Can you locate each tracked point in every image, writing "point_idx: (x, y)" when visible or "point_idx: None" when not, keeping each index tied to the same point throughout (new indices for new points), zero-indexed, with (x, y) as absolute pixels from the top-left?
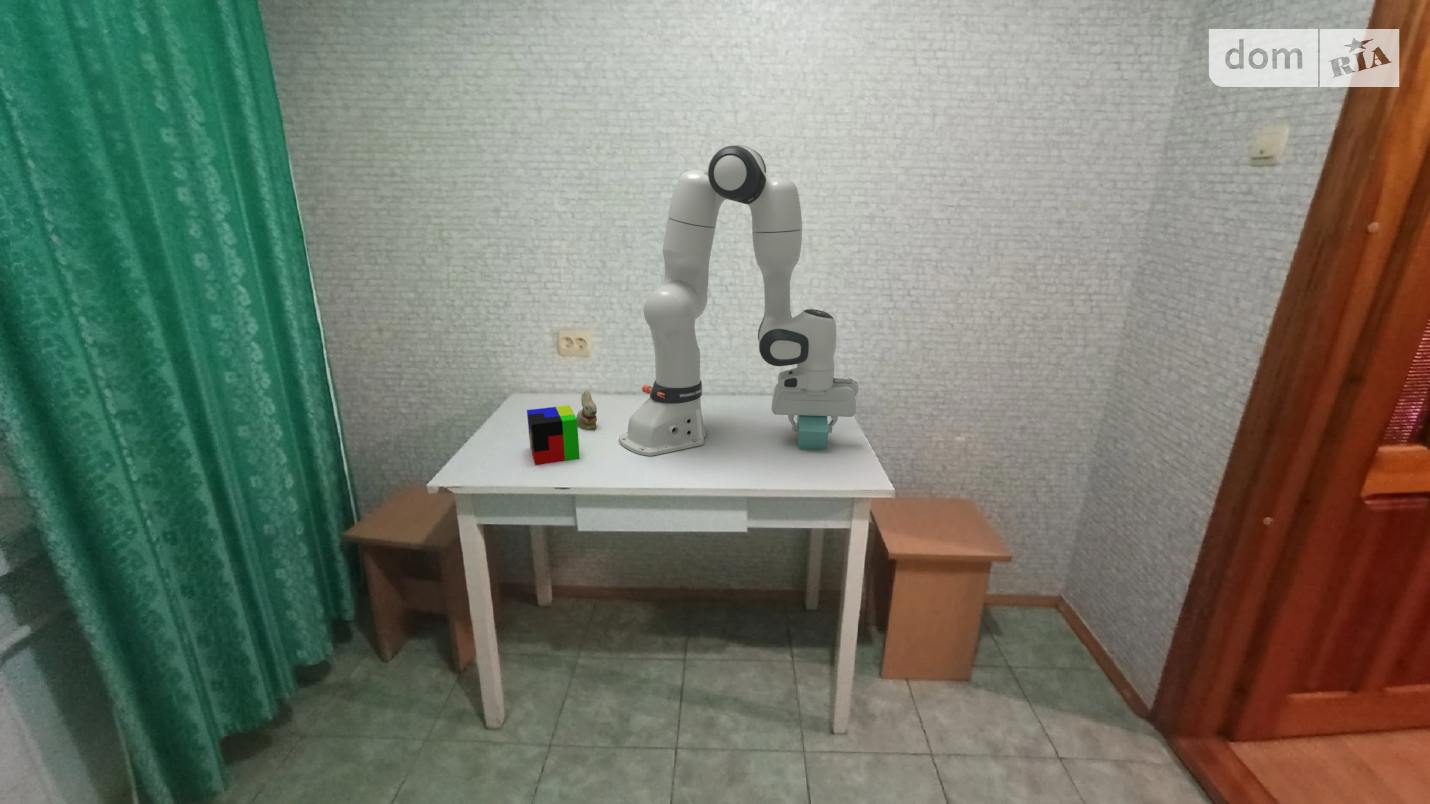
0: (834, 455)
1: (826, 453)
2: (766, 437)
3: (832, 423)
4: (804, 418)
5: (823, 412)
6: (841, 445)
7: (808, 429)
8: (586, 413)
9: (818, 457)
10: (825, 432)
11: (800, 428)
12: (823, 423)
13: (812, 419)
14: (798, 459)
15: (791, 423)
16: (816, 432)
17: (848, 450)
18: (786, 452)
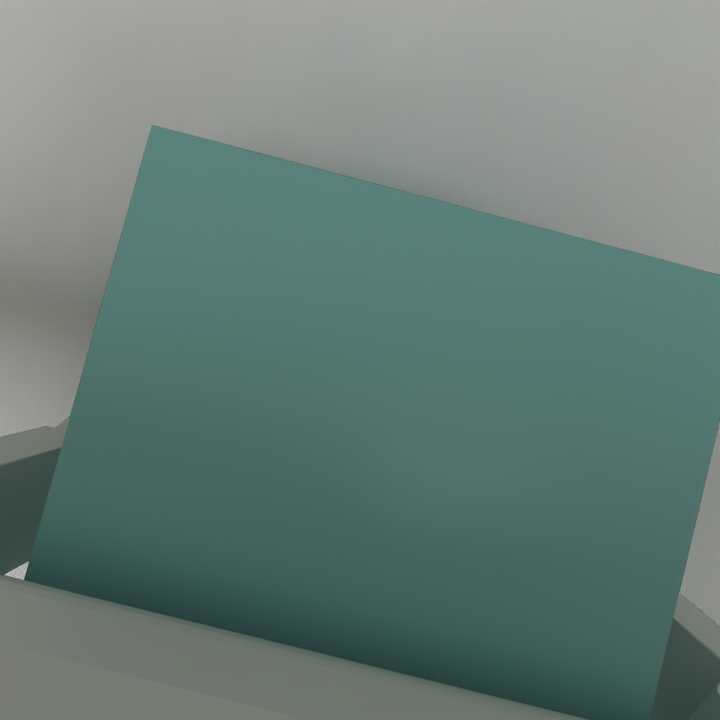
0: (204, 86)
1: (279, 157)
2: (707, 587)
3: (15, 454)
4: (549, 632)
5: (18, 694)
6: (93, 329)
7: (553, 287)
8: None
9: (402, 49)
10: (215, 146)
11: (714, 352)
12: (175, 397)
13: (381, 566)
14: (675, 14)
15: (695, 610)
16: (397, 196)
17: (39, 203)
18: (709, 248)
